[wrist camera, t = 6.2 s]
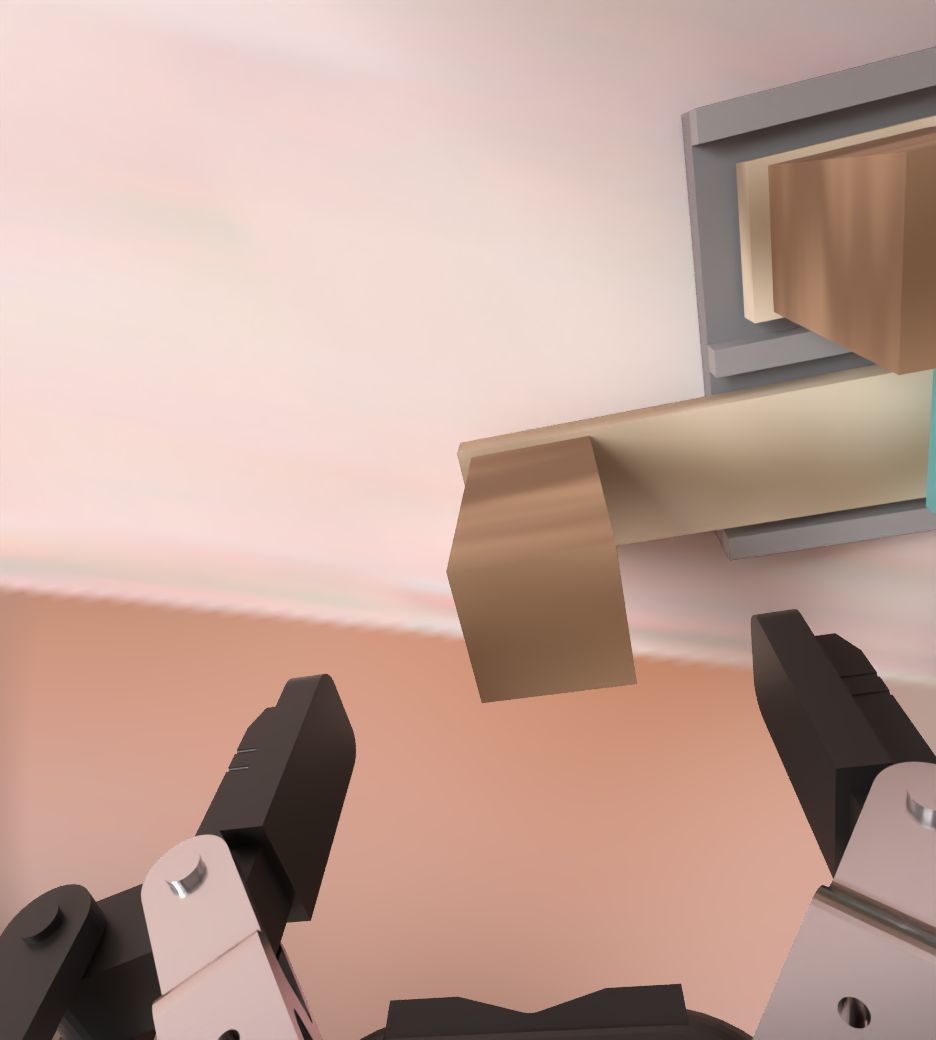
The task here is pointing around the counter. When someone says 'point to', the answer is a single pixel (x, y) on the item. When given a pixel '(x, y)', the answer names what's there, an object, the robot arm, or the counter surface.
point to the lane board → (718, 269)
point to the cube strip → (656, 508)
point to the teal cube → (932, 453)
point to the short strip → (847, 241)
